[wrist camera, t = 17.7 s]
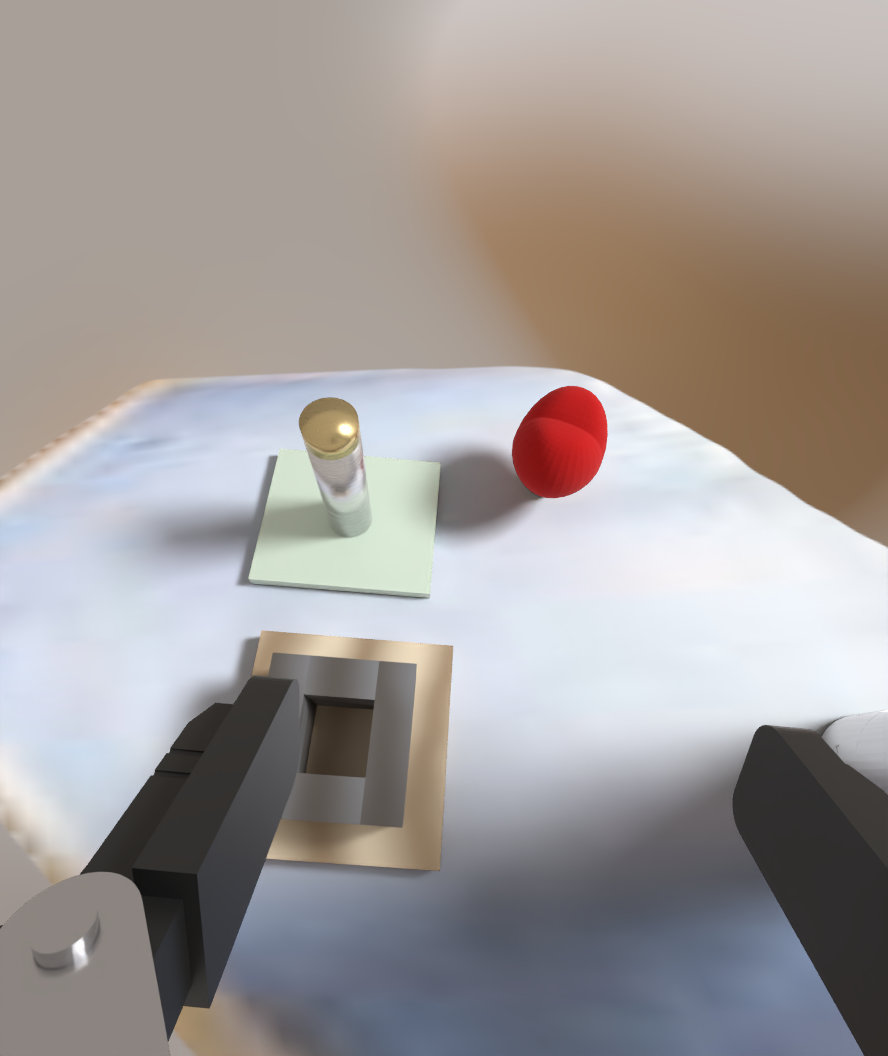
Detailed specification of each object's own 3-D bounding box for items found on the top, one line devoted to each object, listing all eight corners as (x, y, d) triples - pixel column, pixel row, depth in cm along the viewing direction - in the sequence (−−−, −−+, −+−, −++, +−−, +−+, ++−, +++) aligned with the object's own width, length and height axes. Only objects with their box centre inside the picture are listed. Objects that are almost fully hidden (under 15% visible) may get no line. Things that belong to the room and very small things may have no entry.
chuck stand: (451, 650, 40) (458, 627, 35) (438, 867, 34) (444, 884, 28) (266, 635, 40) (241, 610, 34) (220, 851, 34) (180, 866, 28)
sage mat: (440, 468, 47) (440, 462, 46) (429, 598, 42) (430, 593, 41) (282, 455, 47) (279, 448, 46) (251, 583, 42) (248, 579, 41)
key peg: (375, 501, 44) (362, 400, 33) (369, 539, 43) (353, 448, 31) (333, 497, 44) (305, 394, 33) (325, 535, 43) (293, 442, 31)
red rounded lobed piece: (562, 546, 45) (600, 486, 36) (485, 515, 46) (503, 448, 37) (593, 461, 49) (634, 388, 40) (521, 433, 49) (546, 356, 40)
